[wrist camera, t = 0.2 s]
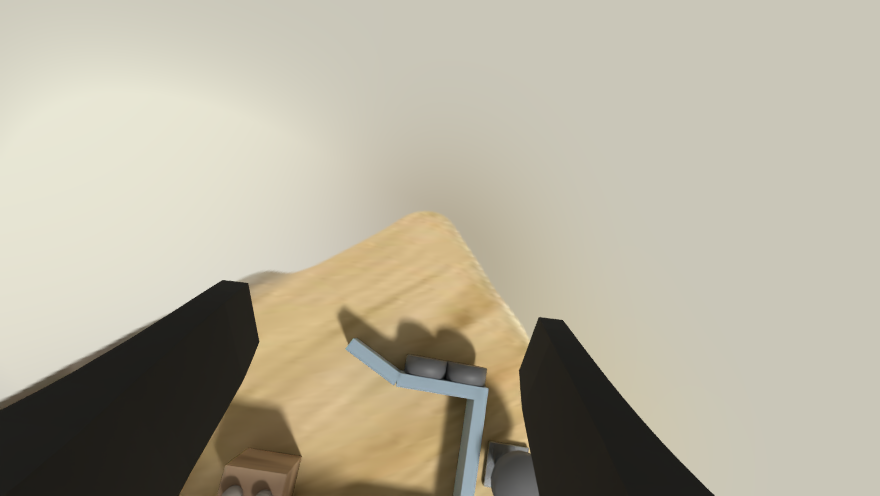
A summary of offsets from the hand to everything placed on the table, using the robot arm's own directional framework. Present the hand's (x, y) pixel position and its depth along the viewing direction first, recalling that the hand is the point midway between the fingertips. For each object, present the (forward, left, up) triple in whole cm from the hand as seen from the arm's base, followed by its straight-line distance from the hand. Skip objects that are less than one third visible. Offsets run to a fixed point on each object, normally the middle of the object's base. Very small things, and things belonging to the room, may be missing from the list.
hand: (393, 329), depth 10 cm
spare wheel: (-11, -13, -27) cm, 32 cm away
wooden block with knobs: (-15, +9, -31) cm, 35 cm away
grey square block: (-11, -13, -31) cm, 35 cm away
